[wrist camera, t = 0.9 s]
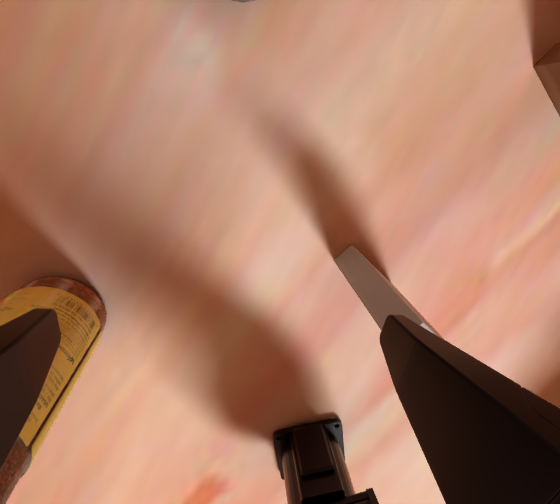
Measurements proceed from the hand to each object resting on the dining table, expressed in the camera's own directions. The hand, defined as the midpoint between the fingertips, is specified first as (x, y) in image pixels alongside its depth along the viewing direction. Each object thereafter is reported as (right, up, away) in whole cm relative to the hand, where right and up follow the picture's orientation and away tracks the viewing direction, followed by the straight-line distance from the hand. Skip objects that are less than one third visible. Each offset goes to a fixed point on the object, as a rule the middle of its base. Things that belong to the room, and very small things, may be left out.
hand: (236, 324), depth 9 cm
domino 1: (+8, 0, +16) cm, 18 cm away
